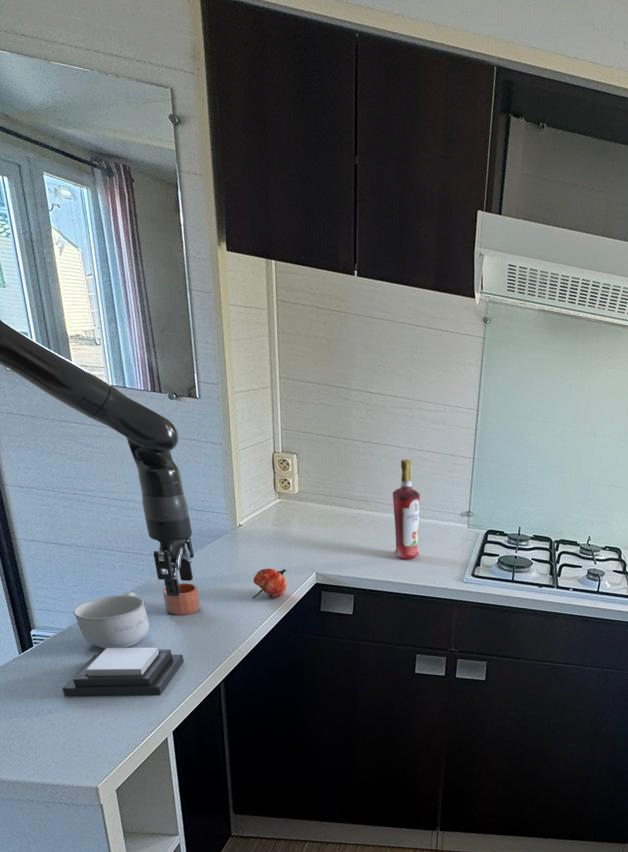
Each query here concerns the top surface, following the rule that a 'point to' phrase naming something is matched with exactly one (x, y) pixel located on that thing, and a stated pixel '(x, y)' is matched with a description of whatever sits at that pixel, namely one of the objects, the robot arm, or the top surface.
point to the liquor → (406, 515)
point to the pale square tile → (123, 662)
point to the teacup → (113, 620)
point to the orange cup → (182, 600)
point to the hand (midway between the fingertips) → (180, 587)
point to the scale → (126, 679)
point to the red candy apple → (271, 582)
